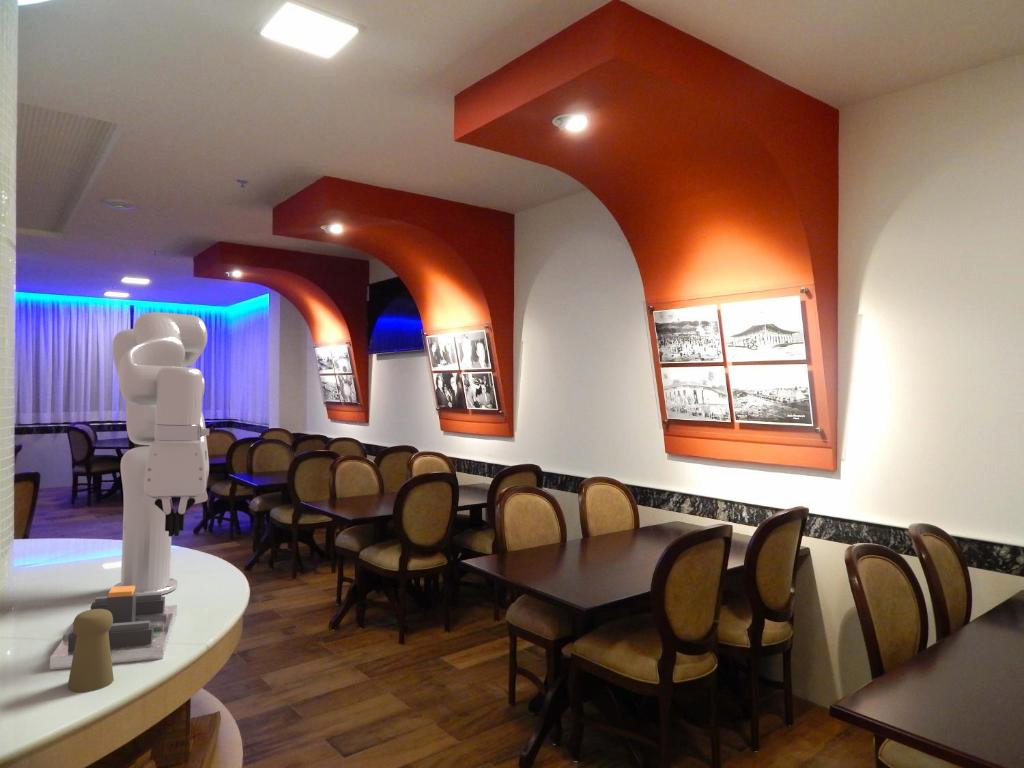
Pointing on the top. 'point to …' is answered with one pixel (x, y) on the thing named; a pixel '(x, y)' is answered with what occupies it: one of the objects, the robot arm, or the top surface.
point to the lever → (122, 604)
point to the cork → (91, 652)
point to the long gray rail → (129, 630)
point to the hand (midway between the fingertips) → (174, 534)
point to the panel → (127, 653)
